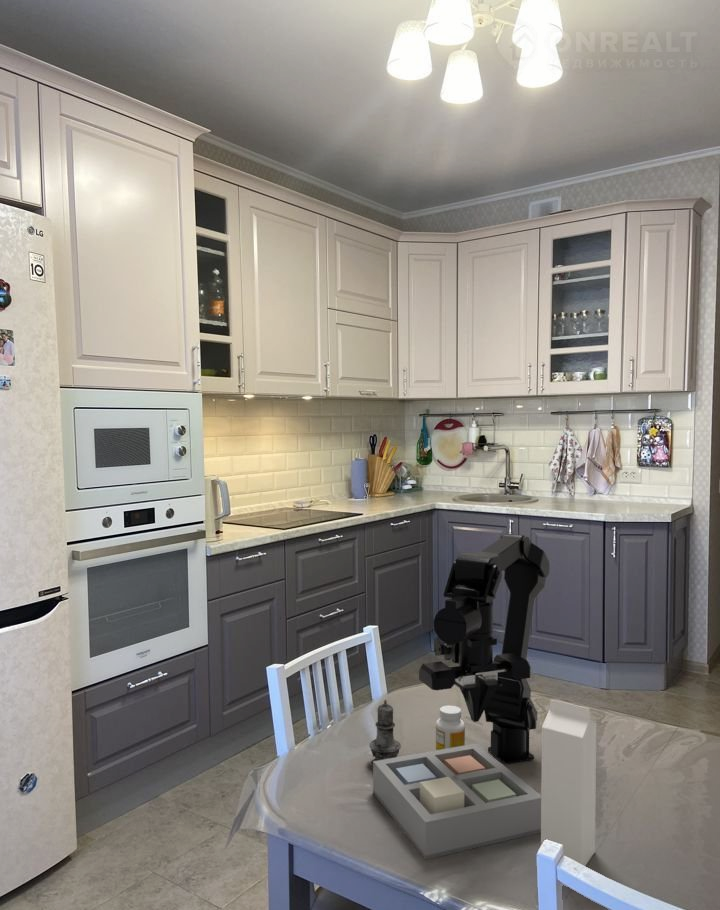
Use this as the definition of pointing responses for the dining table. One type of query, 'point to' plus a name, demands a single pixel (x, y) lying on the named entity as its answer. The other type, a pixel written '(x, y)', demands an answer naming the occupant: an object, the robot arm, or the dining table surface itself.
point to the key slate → (414, 774)
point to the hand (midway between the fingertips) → (474, 720)
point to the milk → (569, 779)
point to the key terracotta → (463, 765)
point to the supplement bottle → (450, 728)
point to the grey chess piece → (384, 735)
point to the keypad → (459, 825)
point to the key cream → (441, 795)
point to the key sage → (492, 791)
